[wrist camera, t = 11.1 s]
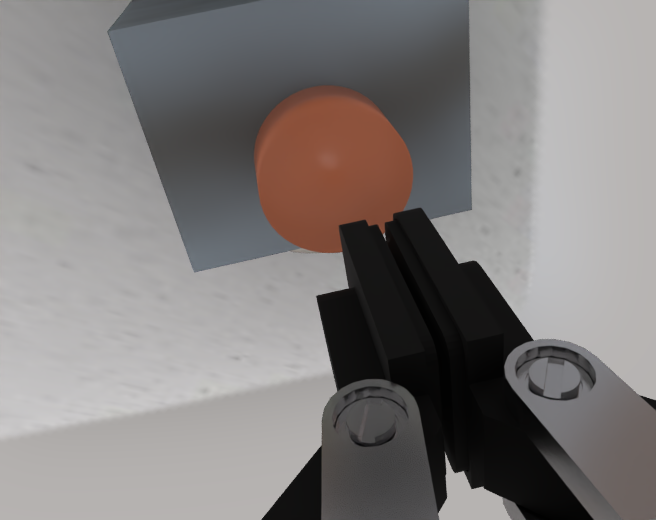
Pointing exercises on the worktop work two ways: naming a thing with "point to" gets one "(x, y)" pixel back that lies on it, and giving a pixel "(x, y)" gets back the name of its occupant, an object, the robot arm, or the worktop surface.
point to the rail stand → (279, 83)
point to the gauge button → (329, 166)
